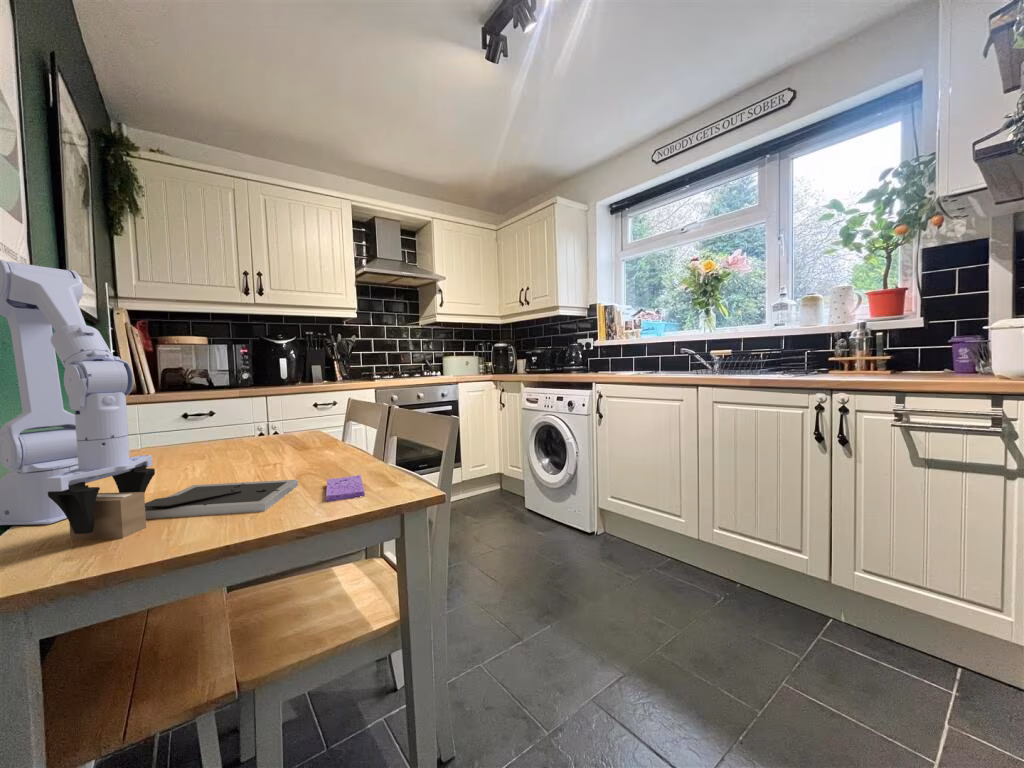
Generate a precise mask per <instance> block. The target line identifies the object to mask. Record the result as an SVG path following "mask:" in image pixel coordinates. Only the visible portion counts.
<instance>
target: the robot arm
mask: <svg viewBox="0 0 1024 768" xmlns="http://www.w3.org/2000/svg"><path fill="white" fill-rule="evenodd" d="M83 295H84V282H83V279H82V277H81V275H80V274H78V272H77V271H76V270H73V269H60V268H55V267H48V266H41V265H35V264H27V263H21V262H14V261H7V260H4V259H0V316H1V317H4V318H6V320H7V323H8V327H9V331H10V334H11V342H12V349H13V354H14V355H13V356H14V363H15V370H16V377H17V382H18V383H17V385H18V390H19V397H20V404H21V411H22V413H20V414H19V415H17V416H16V417H14V418H12V419H11V420H9V421H7V422H5V423H4V424H3V425H2V426H1V428H0V463H1V465H2V466H3V467H4V469H7V470H8V471H9V472H8V473H6V474H5V475H4V476H3V477H2V478H1V479H0V526H15V525H16V526H20V525H21V526H22V525H23V526H24V525H25V526H26V525H27V526H29V525H50V524H54V523H56V522H60V521H62V520H66V519H67V520H68V522H70V524H71V527H72V529H73V531H74V533H75V534H88V533H91V532H93V528H94V506H95V501H96V497H97V494H98V493H100V492H99V491H100V489H101V488H100V486H92V487H91V486H89V485H86V484H88V483H92V482H95V481H100V480H102V479H106V478H110V477H112V479H113V480H114V483H115V485H116V487H117V490H118V493H127V492H144V494H146V491H147V489H148V486H149V485H150V482H151V480H152V478H153V477H154V476H155V475H156V472H155V468H150V467H152V466H153V456H152V455H151V454H149V455H148V454H147V455H146V454H143V455H135V456H132V457H131V456H130V455H131V454H130V442H129V441H130V440H129V425H128V424H129V423H128V410H127V396H129V395H130V393H131V392H132V390H133V387H134V373H133V370H132V367H131V365H130V363H129V362H128V361H126V360H125V359H121V358H120V356H115V355H113V353H112V352H111V350H110V348H109V346H108V344H107V342H106V341H105V340H104V338H103V336H102V334H101V332H100V331H99V330H98V329H97V328H95V327H93V326H90V325H87V324H86V321H85V318H84V316H83V313H82V311H81V308H80V306H79V304H80V302H81V300H82V297H83ZM53 330H54V332H53ZM56 355H57V356H58V358H59V361H60V362H61V364H62V366H63V368H64V372H63V373H64V374H63V385H64V389H65V393H66V394H67V397H68V402H69V403H68V404H69V405H68V406H69V407H70V410H71V411H72V410H73V411H74V413H72V412H69V411H67V410H66V409H64V408H65V407H64V402H63V395H62V387H61V382H60V375H59V369H58V368H59V367H58V362H57V361H58V360H57V356H56ZM49 428H51V429H49ZM52 428H56V429H52ZM39 429H41V430H39ZM42 429H44V430H42ZM45 429H46V430H45ZM29 430H34V431H29ZM35 430H37V431H35ZM23 431H26V432H23Z"/></svg>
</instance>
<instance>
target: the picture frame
mask: <svg viewBox="0 0 1024 768" xmlns="http://www.w3.org/2000/svg"><path fill="white" fill-rule="evenodd" d="M297 486H298V487H299V479H282V480H265V481H264V480H262V481H261V480H260V481H246V482H245V481H243V482H226V483H225V482H224V483H207V484H206V483H205V484H192V485H190V486H189V487H188V486H187V487H186V488H184V489H182V490H179V491H177V492H175V493H173V494H170V495H168V496H166V497H160V498H155V499H152V500H150V501H147V502H145V515H146V520H149V519H148V518H156V519H165V518H164V517H168V518H169V517H171V518H185V516H186V517H198V516H199V517H200V515H202V516H213V515H215V516H216V514H217V515H228V514H229V515H230V514H231V513H232V514H243V513H245V514H246V513H260V512H262V513H263V512H266V511H267V510H269V509H270V508H271V507H273V506H274V505H275V504H276V503H278V502H279V501H280V500H282V499H283V498H285V497H286V496H287V495H289V494H290V493H291V492H293V491H294V490H295V489H296V488H297ZM294 488H295V489H294ZM293 489H294V490H293ZM289 492H290V493H289ZM286 494H287V495H286ZM285 495H286V496H285ZM281 498H282V499H281ZM168 518H167V519H168Z"/></svg>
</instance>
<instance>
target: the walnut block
mask: <svg viewBox="0 0 1024 768" xmlns="http://www.w3.org/2000/svg"><path fill="white" fill-rule="evenodd" d="M145 503H146V501H145V493H144V492H127V493H119V492H98V494H97V497H96V501H95V506H94V528H93V532H91V533H88V534H75V533H74V531H73V529H72V527H71V524H70V522H69V521H68V522H69V523H68V524H69V536H70V537H69V538H70V540H71V539H72V540H100V539H101V540H103V539H104V540H105V539H107V540H108V539H109V538H110V539H112V538H117V539H125V538H127V537H130V536H132V535H133V534H136V533H138V532H141V531H143V530H145V529H147V519H146V515H145ZM124 537H125V538H124ZM110 539H109V540H110ZM112 540H113V539H112Z"/></svg>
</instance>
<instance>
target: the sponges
mask: <svg viewBox="0 0 1024 768" xmlns="http://www.w3.org/2000/svg"><path fill="white" fill-rule="evenodd" d="M361 475H362V474H357V475H351V476H347V477H346V476H343V477H340V478H339V477H338V478H328V479H326V493H325V499H326V500H325V501H326V502H327V503H328V502H329V503H330V502H336V501H337V500H338V501H343V499H344V500H348V498H350V499H356V498H355V497H358V498H361V497H360V496H364V497H365V489H364V484H363V480H362V476H361Z"/></svg>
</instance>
